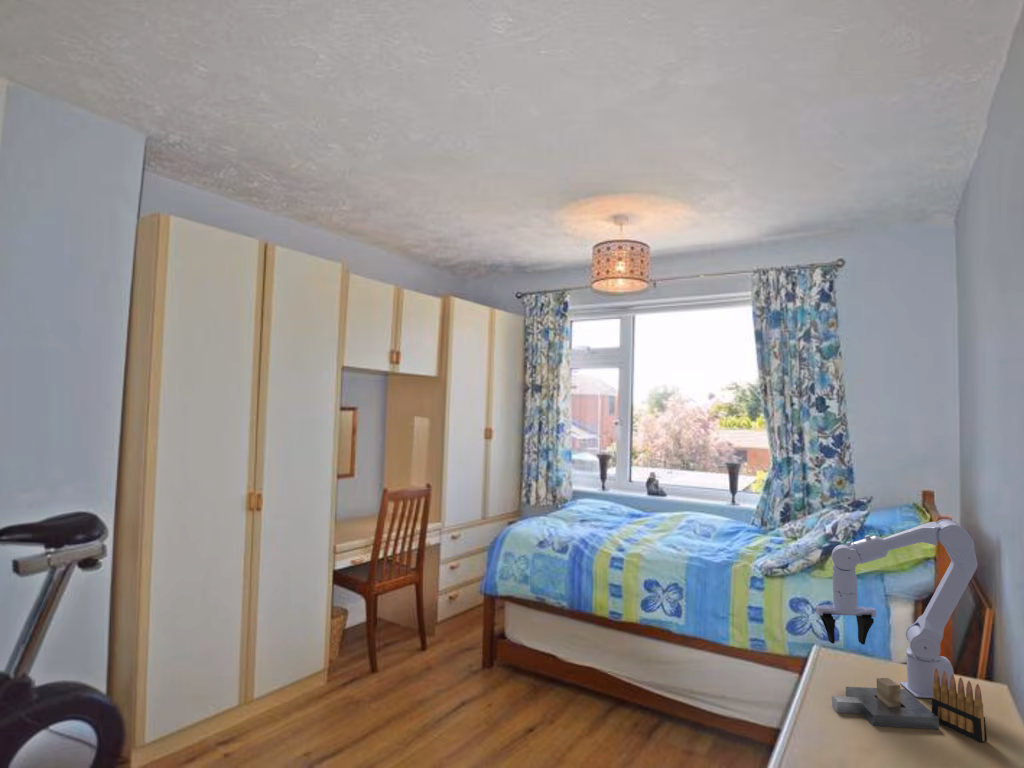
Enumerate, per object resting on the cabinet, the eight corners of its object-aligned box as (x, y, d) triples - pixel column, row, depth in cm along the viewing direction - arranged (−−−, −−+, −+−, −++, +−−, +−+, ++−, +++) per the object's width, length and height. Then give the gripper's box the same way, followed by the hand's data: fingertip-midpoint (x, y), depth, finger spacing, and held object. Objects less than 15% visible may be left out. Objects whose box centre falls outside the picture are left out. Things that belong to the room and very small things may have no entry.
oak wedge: (889, 707, 145) (888, 677, 146) (901, 715, 141) (900, 685, 142) (877, 707, 145) (876, 678, 145) (889, 716, 141) (888, 685, 141)
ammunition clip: (987, 741, 130) (985, 685, 131) (981, 743, 129) (979, 686, 130) (936, 718, 140) (934, 665, 140) (931, 719, 139) (929, 667, 140)
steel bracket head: (905, 699, 149) (905, 689, 149) (939, 729, 135) (938, 717, 135) (822, 695, 151) (822, 685, 151) (847, 724, 137) (847, 713, 137)
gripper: (866, 587, 165) (868, 637, 164) (811, 586, 167) (812, 635, 166) (879, 595, 158) (880, 648, 157) (821, 593, 160) (822, 645, 159)
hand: (846, 642), depth 161 cm, fingers open, 7 cm apart
